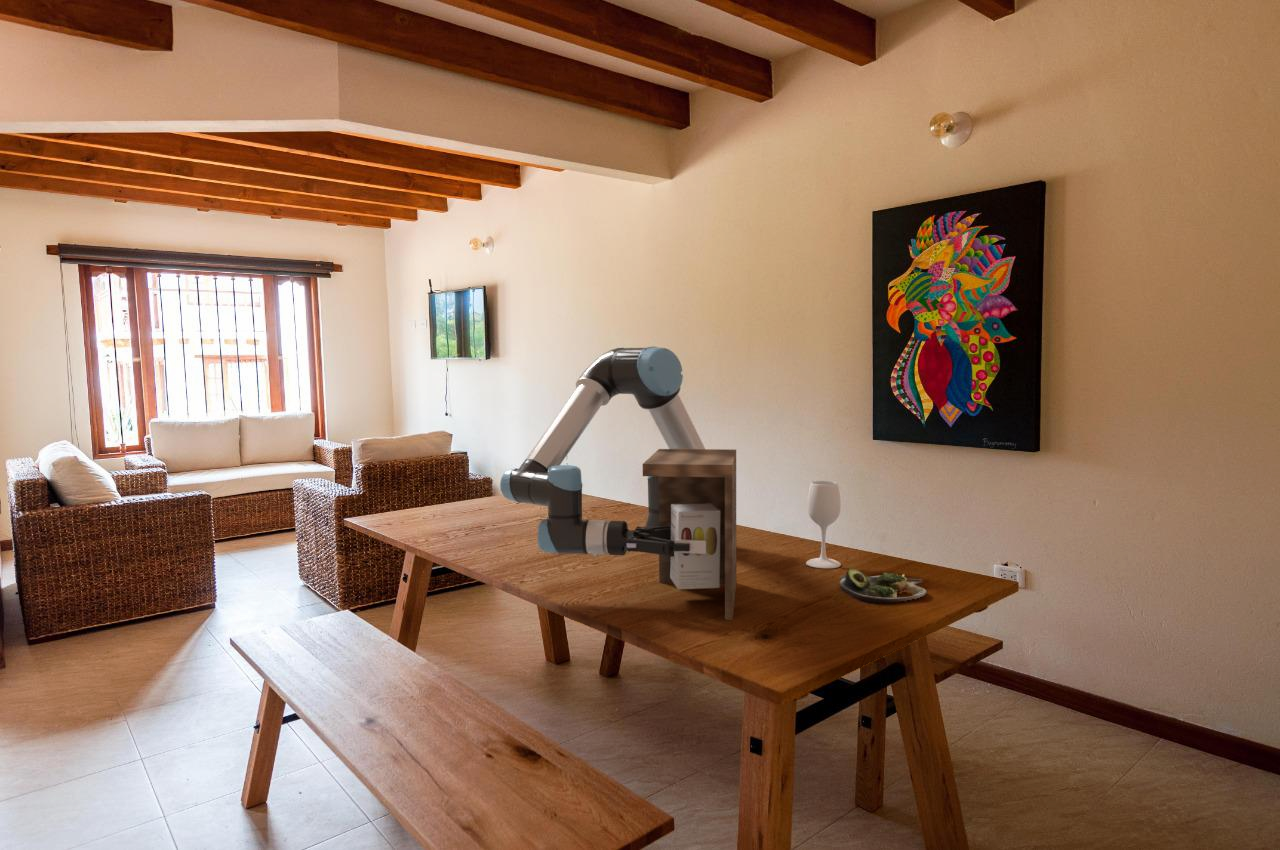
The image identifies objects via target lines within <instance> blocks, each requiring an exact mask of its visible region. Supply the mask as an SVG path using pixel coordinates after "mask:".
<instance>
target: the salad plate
mask: <svg viewBox="0 0 1280 850" xmlns="http://www.w3.org/2000/svg"><path fill="white" fill-rule="evenodd" d="M905 576H906V574H904V573H903V574H902V575H901V574H900V575H898V573H897V572H895V573H892V572H891V573H890V572H889V573H888V572H883V573H882V574H881V575H880V574H879V575H873V576H867V575H866V576H865V574H864V573H863V572H861V571H859V570H858V569H855V568H850V569H848V570H847V571H846V573H845V575H841V576H839V578H840V579H841V580H840V581H839V586H840V588H841V590H842V591H843V592H844V593H845V594H847V595H848V596H850V597H853V598H854V599H855V600H858V601H862V602H866V603H871V604H894V603H893V602H896V603H901V602H900V601H904V602H908V601H907V600H910V601H913V600H912V599H915V600H918V599H917V598H919V599H921V598H922V597H924V596H926V594H927V592H928V591H927V590H926V589H925V588H924V587H920V586H919V585H917V584H920V583H923V582H924V580H923V579H919V578H907V577H905ZM904 590H906V591H909V592H912V593H913V594H914V595H913V596H911V595H910V596H902V597H898V595H897V592H901V591H904ZM920 597H921V598H920Z"/></svg>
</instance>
